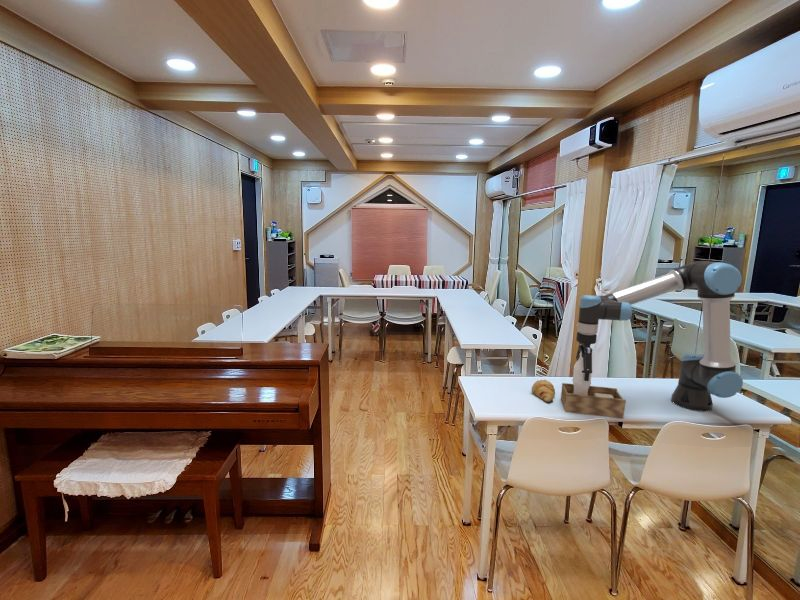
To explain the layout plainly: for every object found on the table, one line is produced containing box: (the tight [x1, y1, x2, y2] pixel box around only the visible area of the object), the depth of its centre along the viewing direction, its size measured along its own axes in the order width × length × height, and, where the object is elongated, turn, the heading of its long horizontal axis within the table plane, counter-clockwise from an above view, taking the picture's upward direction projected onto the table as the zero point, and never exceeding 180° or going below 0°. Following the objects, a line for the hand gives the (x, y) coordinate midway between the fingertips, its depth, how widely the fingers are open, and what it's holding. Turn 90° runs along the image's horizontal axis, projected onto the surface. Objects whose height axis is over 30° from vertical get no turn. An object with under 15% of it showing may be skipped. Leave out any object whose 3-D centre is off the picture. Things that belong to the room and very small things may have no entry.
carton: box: [594, 393, 614, 398], centre depth 172 cm, size 7×10×5 cm
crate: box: [560, 382, 626, 420], centre depth 173 cm, size 22×13×9 cm, turn 76°
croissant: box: [531, 379, 556, 403], centre depth 190 cm, size 21×10×8 cm, turn 175°
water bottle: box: [571, 353, 593, 395], centre depth 173 cm, size 7×7×25 cm
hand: (581, 382), depth 173 cm, fingers open, 13 cm apart
